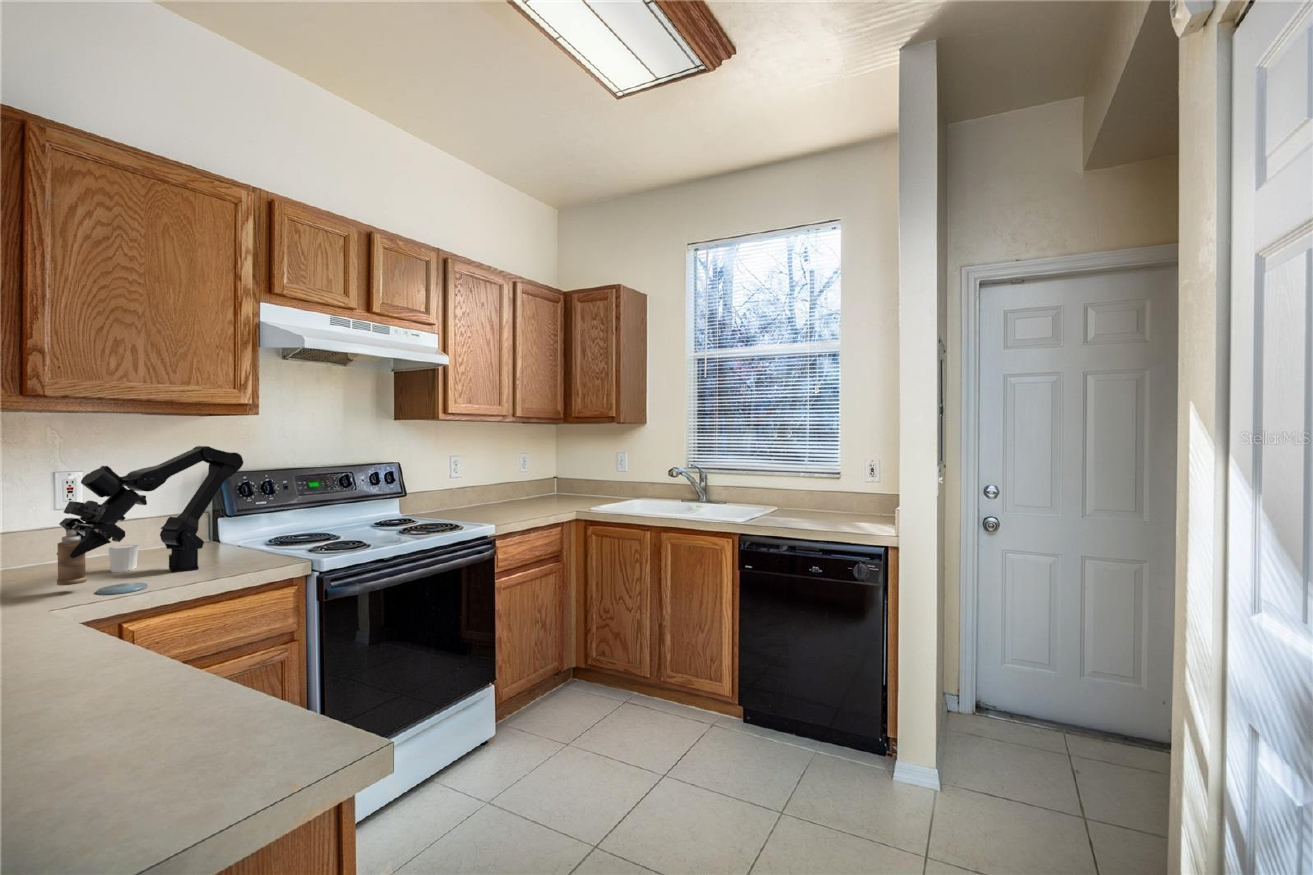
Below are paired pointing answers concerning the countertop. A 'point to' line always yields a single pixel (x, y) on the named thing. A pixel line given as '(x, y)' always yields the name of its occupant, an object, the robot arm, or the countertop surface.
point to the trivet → (121, 588)
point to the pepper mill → (70, 561)
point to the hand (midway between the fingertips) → (64, 556)
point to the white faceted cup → (123, 557)
